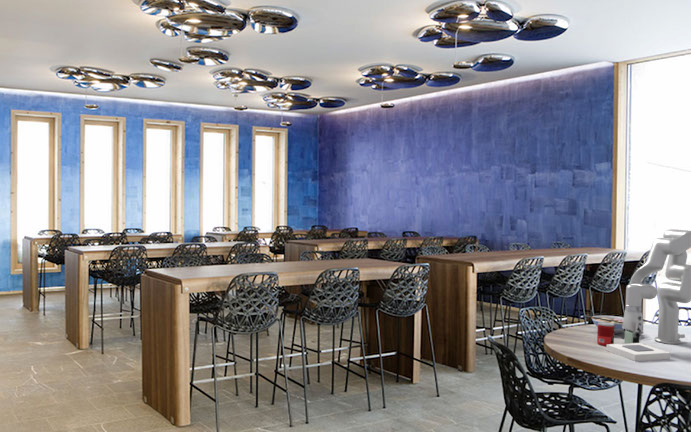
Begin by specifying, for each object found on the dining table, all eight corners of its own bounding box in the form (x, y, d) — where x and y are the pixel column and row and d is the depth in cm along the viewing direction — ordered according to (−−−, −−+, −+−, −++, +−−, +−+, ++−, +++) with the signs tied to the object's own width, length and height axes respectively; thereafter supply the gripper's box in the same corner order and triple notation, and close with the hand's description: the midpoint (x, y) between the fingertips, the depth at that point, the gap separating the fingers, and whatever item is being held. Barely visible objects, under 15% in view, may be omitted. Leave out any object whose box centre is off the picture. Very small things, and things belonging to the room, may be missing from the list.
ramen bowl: (642, 333, 356) (643, 319, 356) (625, 339, 341) (626, 324, 340) (599, 325, 374) (600, 312, 374) (581, 331, 359) (582, 316, 358)
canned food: (615, 346, 323) (616, 325, 322) (598, 345, 324) (599, 324, 324) (611, 343, 330) (612, 322, 330) (595, 342, 332) (596, 321, 331)
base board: (639, 348, 320) (640, 342, 320) (669, 359, 300) (670, 351, 300) (606, 350, 314) (606, 343, 314) (634, 361, 295) (634, 353, 295)
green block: (632, 344, 330) (633, 330, 330) (639, 346, 325) (639, 332, 325) (624, 344, 328) (624, 331, 328) (631, 346, 324) (631, 333, 323)
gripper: (651, 311, 319) (649, 347, 319) (628, 305, 335) (626, 339, 336) (639, 312, 317) (637, 348, 317) (616, 305, 333) (614, 340, 334)
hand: (631, 343), depth 327 cm, fingers closed on green block, 4 cm apart
